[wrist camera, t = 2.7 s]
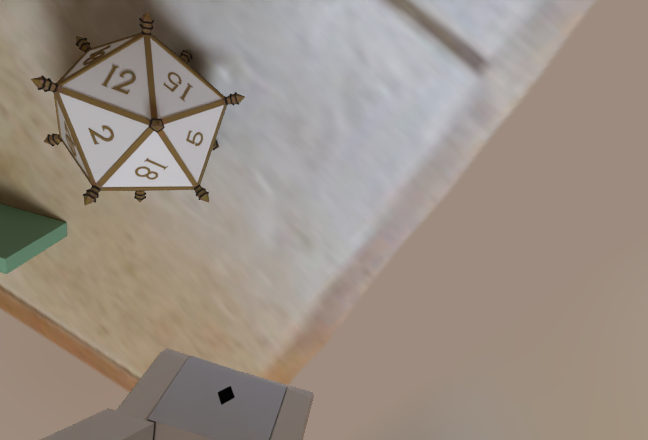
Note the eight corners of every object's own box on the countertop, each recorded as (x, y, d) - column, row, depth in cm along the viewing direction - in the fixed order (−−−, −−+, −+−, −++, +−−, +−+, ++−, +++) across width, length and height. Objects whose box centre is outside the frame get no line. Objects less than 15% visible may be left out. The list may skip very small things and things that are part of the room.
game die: (213, 127, 30) (135, 263, 25) (89, 28, 25) (-33, 170, 21) (301, 73, 23) (216, 244, 18) (154, -73, 19) (-4, 103, 14)
